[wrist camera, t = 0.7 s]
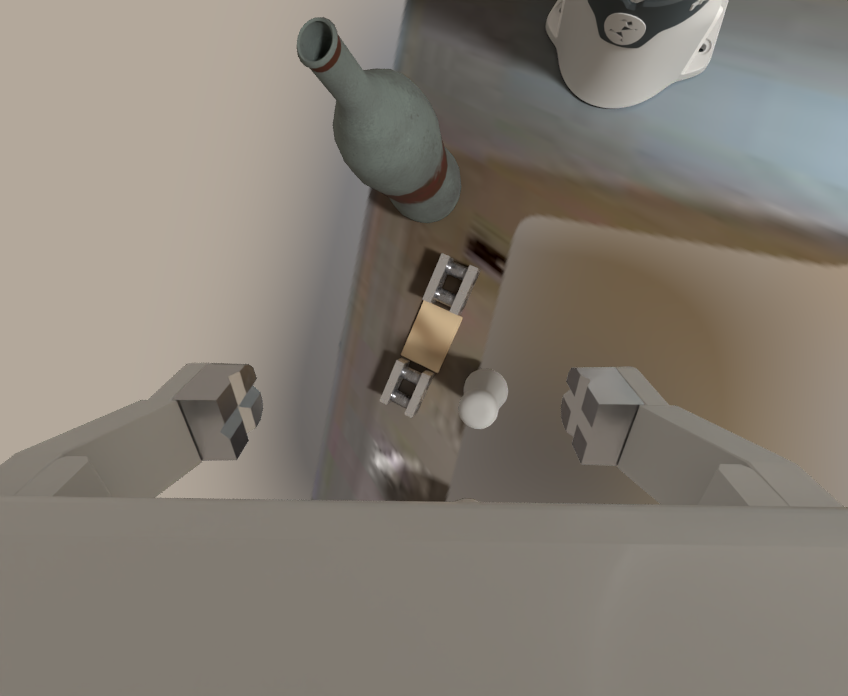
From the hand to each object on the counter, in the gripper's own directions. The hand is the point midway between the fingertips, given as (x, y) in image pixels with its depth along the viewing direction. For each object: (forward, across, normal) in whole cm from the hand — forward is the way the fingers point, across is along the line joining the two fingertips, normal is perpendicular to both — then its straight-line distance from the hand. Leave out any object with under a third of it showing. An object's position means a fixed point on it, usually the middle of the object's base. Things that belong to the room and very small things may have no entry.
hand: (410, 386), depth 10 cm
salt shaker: (+35, -9, +25) cm, 43 cm away
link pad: (+39, -1, +19) cm, 43 cm away
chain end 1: (+37, +2, +26) cm, 45 cm away
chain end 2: (+41, -4, +12) cm, 43 cm away
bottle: (+47, -1, +1) cm, 47 cm away
